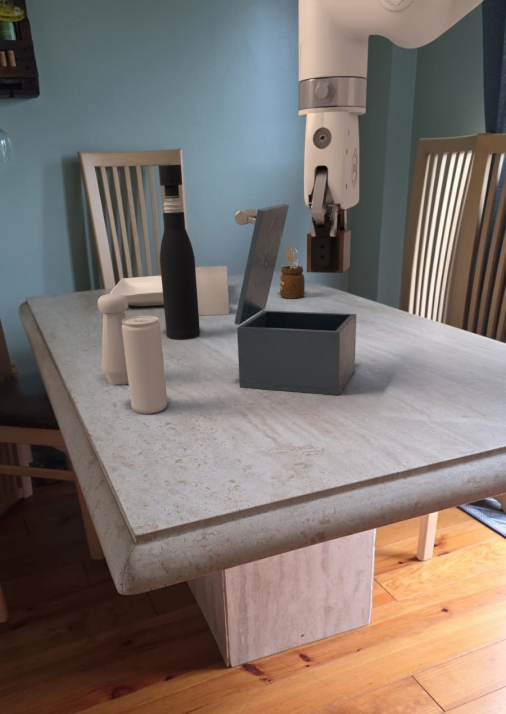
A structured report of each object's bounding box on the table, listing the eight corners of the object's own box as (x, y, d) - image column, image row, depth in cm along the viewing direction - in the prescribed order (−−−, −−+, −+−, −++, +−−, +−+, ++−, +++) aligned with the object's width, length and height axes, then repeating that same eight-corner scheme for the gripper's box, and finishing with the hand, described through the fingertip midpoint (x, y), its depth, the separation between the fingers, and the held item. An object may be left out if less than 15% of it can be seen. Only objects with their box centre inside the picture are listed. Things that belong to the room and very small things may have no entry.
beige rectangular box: (228, 314, 136) (226, 267, 132) (198, 315, 136) (194, 268, 132) (229, 310, 140) (227, 264, 135) (199, 312, 140) (196, 266, 135)
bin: (354, 371, 96) (356, 313, 92) (338, 395, 86) (339, 332, 82) (264, 364, 100) (263, 310, 97) (239, 387, 90) (236, 327, 87)
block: (349, 267, 78) (350, 230, 77) (343, 273, 75) (344, 233, 73) (314, 266, 80) (315, 230, 78) (306, 272, 76) (306, 233, 74)
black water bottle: (172, 341, 116) (156, 165, 104) (162, 334, 122) (146, 165, 109) (204, 336, 119) (193, 164, 106) (193, 329, 124) (181, 164, 112)
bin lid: (289, 204, 89) (258, 196, 90) (263, 210, 79) (229, 200, 80) (265, 308, 96) (237, 299, 97) (239, 325, 87) (208, 314, 87)
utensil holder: (306, 294, 154) (306, 244, 149) (302, 299, 149) (302, 247, 144) (282, 294, 155) (282, 244, 150) (278, 299, 150) (277, 247, 145)
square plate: (226, 305, 145) (226, 288, 143) (108, 311, 143) (106, 294, 142) (223, 286, 169) (223, 271, 168) (123, 290, 168) (121, 276, 166)
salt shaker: (142, 373, 98) (132, 290, 93) (142, 384, 93) (132, 296, 88) (104, 376, 97) (92, 292, 92) (102, 388, 92) (90, 299, 87)
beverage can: (167, 413, 82) (158, 323, 77) (130, 416, 81) (118, 325, 76) (168, 401, 86) (160, 314, 81) (133, 403, 86) (123, 316, 81)
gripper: (352, 91, 61) (346, 280, 69) (376, 104, 76) (369, 259, 83) (278, 96, 63) (281, 279, 71) (316, 108, 78) (314, 258, 86)
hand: (328, 266), depth 77 cm, fingers closed on block, 4 cm apart
